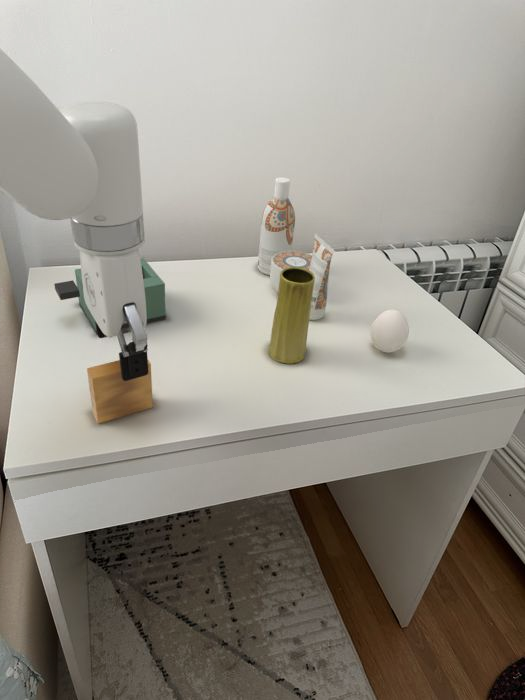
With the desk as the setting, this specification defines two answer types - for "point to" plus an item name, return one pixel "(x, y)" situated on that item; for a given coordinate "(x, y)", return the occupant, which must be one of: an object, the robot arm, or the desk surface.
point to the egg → (389, 331)
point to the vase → (292, 315)
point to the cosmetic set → (279, 244)
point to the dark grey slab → (67, 290)
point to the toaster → (152, 296)
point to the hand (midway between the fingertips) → (121, 354)
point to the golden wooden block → (117, 392)
